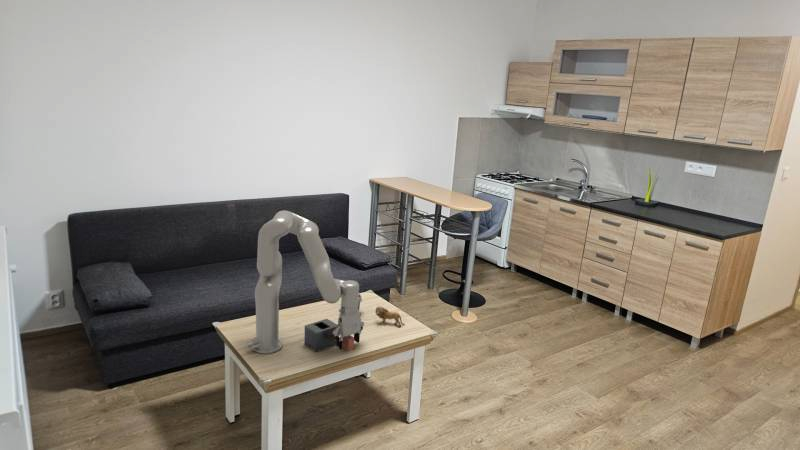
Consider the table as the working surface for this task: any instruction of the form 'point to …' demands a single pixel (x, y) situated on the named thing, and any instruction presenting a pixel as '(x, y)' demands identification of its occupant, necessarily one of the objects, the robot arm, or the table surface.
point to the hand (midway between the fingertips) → (348, 344)
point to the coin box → (320, 335)
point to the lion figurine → (388, 315)
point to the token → (348, 342)
